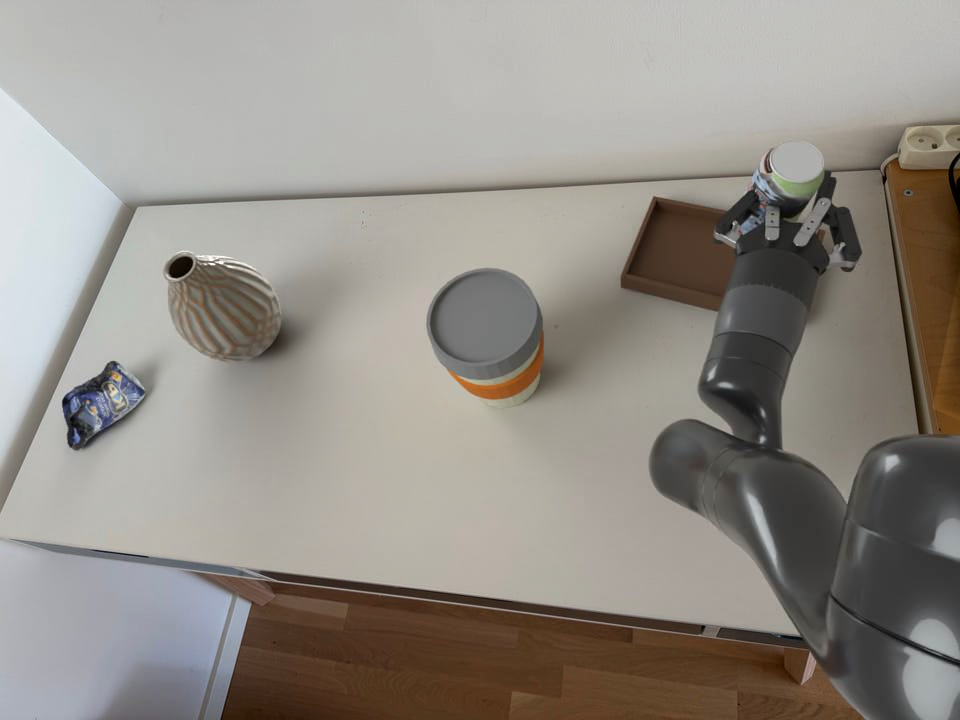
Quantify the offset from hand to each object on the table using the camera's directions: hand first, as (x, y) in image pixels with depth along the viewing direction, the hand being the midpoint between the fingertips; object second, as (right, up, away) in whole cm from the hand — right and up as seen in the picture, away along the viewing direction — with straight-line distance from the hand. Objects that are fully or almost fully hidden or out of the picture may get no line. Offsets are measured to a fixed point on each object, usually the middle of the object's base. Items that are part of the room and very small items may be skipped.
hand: (805, 173), depth 66 cm
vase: (-65, -16, +27) cm, 72 cm away
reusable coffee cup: (-30, -21, +16) cm, 40 cm away
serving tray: (-3, -7, +16) cm, 18 cm away
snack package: (-86, -27, +26) cm, 94 cm away
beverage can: (-1, -5, +6) cm, 8 cm away
